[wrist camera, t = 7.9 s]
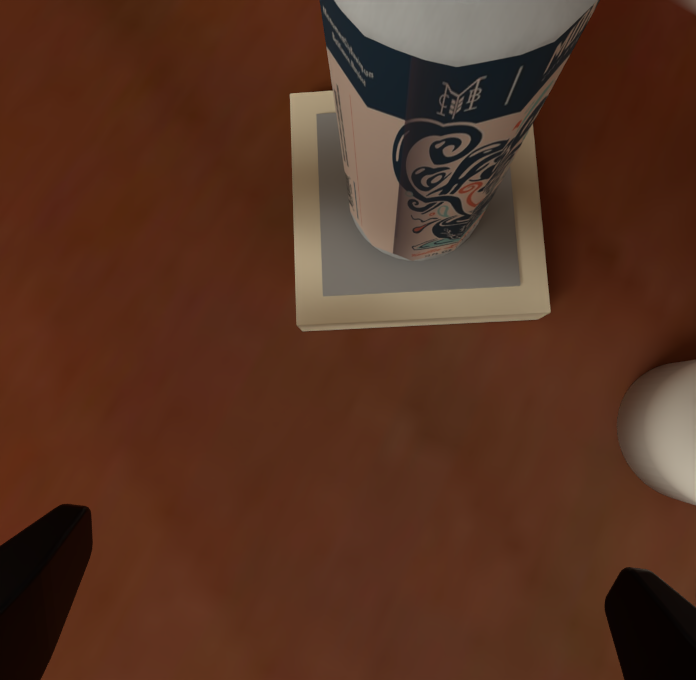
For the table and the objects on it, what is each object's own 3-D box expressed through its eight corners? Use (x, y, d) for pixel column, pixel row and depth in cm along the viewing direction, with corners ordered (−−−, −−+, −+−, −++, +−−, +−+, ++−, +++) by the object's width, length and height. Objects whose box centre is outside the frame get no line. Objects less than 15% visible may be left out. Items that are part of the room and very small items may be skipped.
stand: (537, 319, 20) (551, 311, 18) (302, 331, 20) (296, 324, 18) (517, 99, 21) (529, 73, 19) (296, 115, 21) (289, 91, 20)
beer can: (424, 292, 18) (507, 81, 6) (322, 210, 19) (229, -119, 7) (509, 191, 19) (738, -186, 7) (406, 114, 19) (452, -356, 7)
